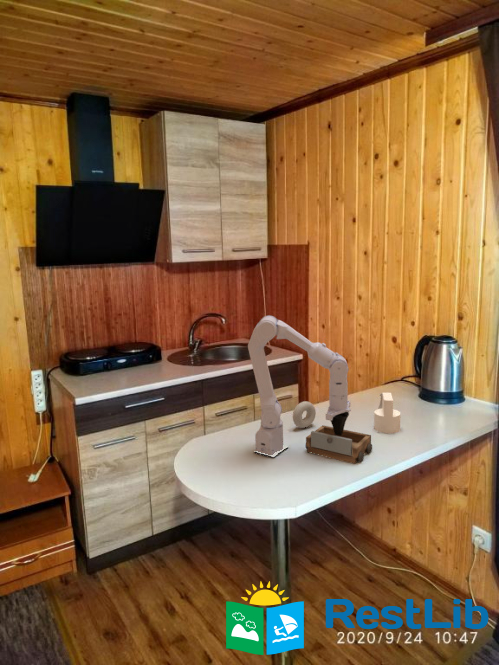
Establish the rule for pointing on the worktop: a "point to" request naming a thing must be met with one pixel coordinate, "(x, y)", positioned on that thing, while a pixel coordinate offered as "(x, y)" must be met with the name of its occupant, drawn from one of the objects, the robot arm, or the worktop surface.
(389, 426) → the cylinder with rectangular tab
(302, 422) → the donut
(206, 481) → the worktop surface
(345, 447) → the tailgate
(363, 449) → the box
